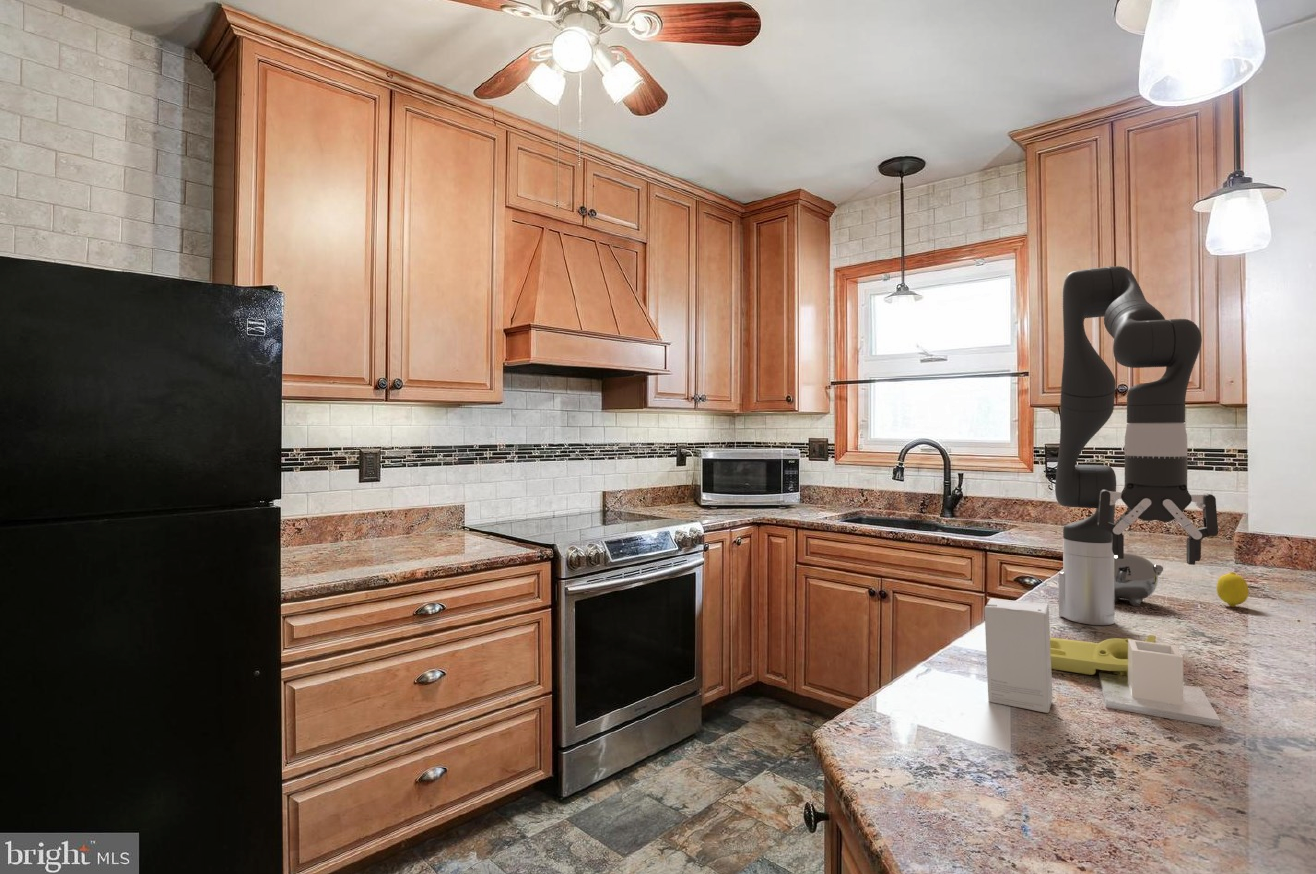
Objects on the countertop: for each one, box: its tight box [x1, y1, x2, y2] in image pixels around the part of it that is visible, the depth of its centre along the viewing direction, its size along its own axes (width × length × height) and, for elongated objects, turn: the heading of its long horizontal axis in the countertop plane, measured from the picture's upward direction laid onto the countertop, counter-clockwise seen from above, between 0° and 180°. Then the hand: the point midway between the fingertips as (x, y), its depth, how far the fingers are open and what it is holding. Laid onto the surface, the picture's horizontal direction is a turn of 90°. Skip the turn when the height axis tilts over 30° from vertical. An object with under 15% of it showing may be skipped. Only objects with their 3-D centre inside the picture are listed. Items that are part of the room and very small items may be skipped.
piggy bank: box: [1114, 552, 1164, 607], centre depth 156 cm, size 11×15×12 cm
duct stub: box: [1099, 672, 1221, 728], centre depth 99 cm, size 13×13×6 cm
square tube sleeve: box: [1128, 638, 1184, 705], centre depth 99 cm, size 6×6×7 cm
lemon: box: [1216, 571, 1250, 608], centre depth 151 cm, size 6×6×8 cm
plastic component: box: [1050, 634, 1157, 677], centre depth 113 cm, size 20×7×10 cm
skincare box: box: [984, 597, 1053, 714], centre depth 99 cm, size 8×6×15 cm
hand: (1154, 561), depth 99 cm, fingers open, 8 cm apart
